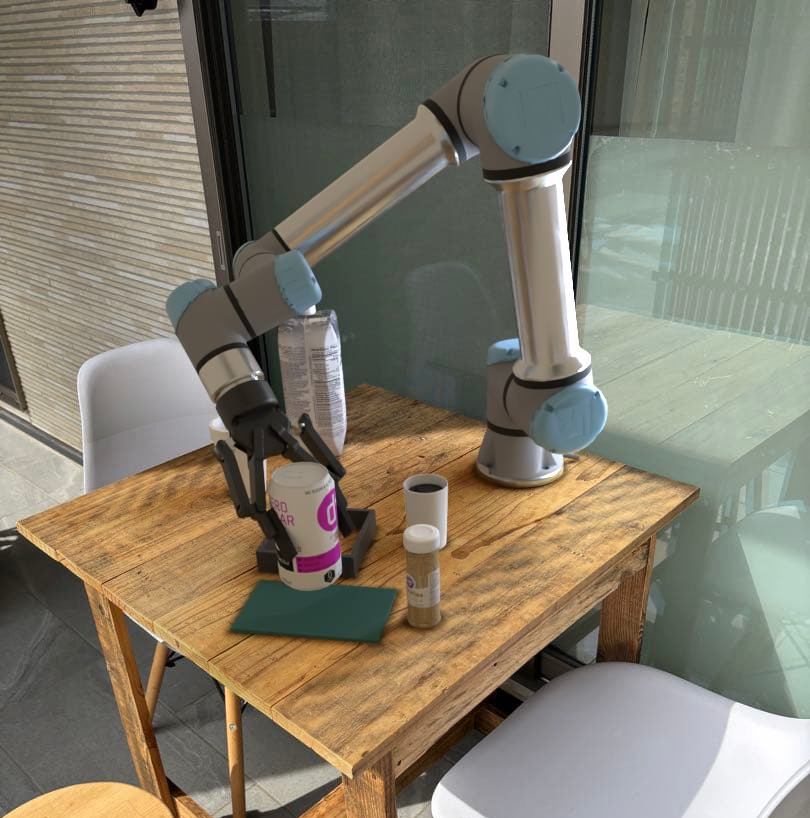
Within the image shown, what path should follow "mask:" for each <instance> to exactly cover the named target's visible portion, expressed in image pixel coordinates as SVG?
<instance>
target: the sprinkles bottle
mask: <svg viewBox="0 0 810 818" xmlns="http://www.w3.org/2000/svg"><path fill="white" fill-rule="evenodd" d="M402 543H403V544H402V545H403V548H404V551H405V554H404V555H405V586H406V587H405V589H406V592H405V593H406V602H407V615H406V619H407V622H408V623H409V625H411V626H412V627H413V628H417V629H430V628H433V627H435V626H436V625H438V624H439V623H440V622H441V619H442V616H441V615H442V614H441V578H440V574H441V573H440V572H441V571H440V569H441V568H440V557H439V550H440V549H439V545H440V536H439V531H438V529H437V528H435V527H434V526H431V525H427V524H417V525H413V526H410V527H408V528H407V527H406V529H405V530H404V531H403V534H402Z"/></svg>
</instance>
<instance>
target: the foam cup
mask: <svg viewBox="0 0 810 818" xmlns="http://www.w3.org/2000/svg"><path fill="white" fill-rule="evenodd" d="M208 430H209V436H210V440H212V442H213V444H214V446H215V445H216V443H217V442H218V441H219V440H226V439H228V438H229V437H230V436H229V431H228V430H227V429H226V428H225V426H224V424H223V422H222V420H221V418H220V416H219V415H216V416H215V417H213V418H212V419H210V420H209V425H208ZM234 449H235V453H234V455H235V457H236V460H237V463H238V466H239V469H240V472H241V475H242V479H243V482H244V485H245V488H246V491H247V494H248V497H249V500H251V494H250V478H249V469H248V465H247V454H245V453H244V452H242V451H240V450H239V449H237V448H235V447H234ZM263 463H264V478H265V492H267V459H266V460H264V462H263ZM220 467H221V470H222V474H223V476H224V479H225V475H224V472H223V469H222V466H221V465H220ZM225 483H226V486H227V490H229V488H228V485H227V482H226V479H225ZM229 495H230V496H231V494H230V493H229Z"/></svg>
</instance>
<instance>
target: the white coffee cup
mask: <svg viewBox="0 0 810 818" xmlns="http://www.w3.org/2000/svg"><path fill="white" fill-rule="evenodd" d="M402 489H403V501H404V508H405V509H404V510H405V519H406V529H407V528H408V527H410V526H413V525H417V524H427V525H431V526H434V527H435V528H437V529H438V531H439V536H440V545H439V550H441V549H443V548H444V547H445V546H446V545H447V535H448V501H449V499H448V497H449V496H448V495H449V481H448V480H447V479H446V477H444V476H442V475H439V474H436V473H435V474H434V473H420V474H414V475H412V476H409V477H407V478H406V479H405V480H403V484H402Z"/></svg>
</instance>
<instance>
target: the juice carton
mask: <svg viewBox="0 0 810 818" xmlns="http://www.w3.org/2000/svg"><path fill="white" fill-rule="evenodd" d="M338 323H339V322H338V317H337V313H336V311H335V310H333V309H323V310H317V309H316V304H315V305H314V306H312V307H311V308H309V309H308V310H306V311H305V312H304V313H303V314H300V315H297V316H295V317H293V318H291V319H289V320H287V321H285V322H284V323H282V324H280V325H278V326H276V332H277V333H276V334H277V347H278V356H279V365H280V373H281V379H282V380H281V381H282V390H283V396H284V397H283V398H284V405H285V415H286V416H287V417H288V418H289V419H290V418H297V417H300V416H301V415H302V414H303V413H307V414H308V415H309V416H310V419H311V421H312V424H313V427H314V429H315V430H316V431H317V433H318V434H319V435H320V437H321V438H322V439H323V441H324V442H325V443H326V444H327V446H328V447H329V448H330V450H331V451H332V452H333V454H334V455H335V456H336V457H339V456H341V455H342V452H343V449H344V443H345V438H346V433H347V428H348V427H347V426H348V425H347V424H348V423H347V422H348V421H347V407H346V396H345V383H344V373H343V360H342V359H343V358H342V349H341V338H340V330H339V324H338ZM290 435H292V436H293V437H294V438H295V439H296V440H297V441H298V442H299V444H300V446H301V447H302V448H303V449H304V450H306V451H307V452H308V453H309V454H310V455H311V456H312V457H314V456H313V455H312V453H311V452H310V451H309V450H308V448H307V447H306V446H305V444H304V443H303V442H302V440H301V438H300V436H299V435H296V434H295V431H294V430H293V429H290ZM314 458H315V457H314Z"/></svg>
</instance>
